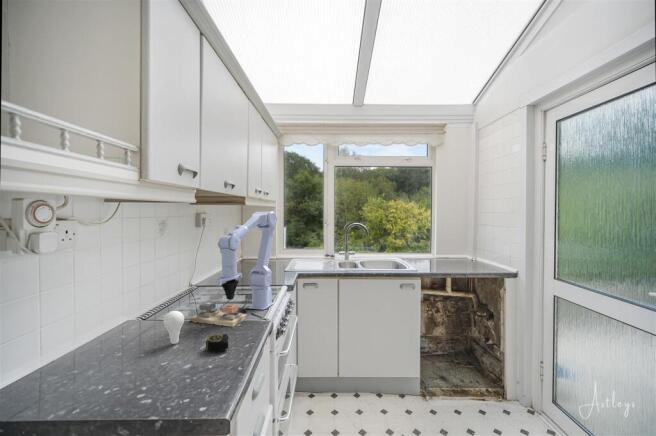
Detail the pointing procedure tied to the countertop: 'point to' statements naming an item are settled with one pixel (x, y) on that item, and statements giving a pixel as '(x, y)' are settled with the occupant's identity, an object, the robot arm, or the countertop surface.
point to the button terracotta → (230, 308)
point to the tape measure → (217, 343)
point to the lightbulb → (174, 325)
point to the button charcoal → (207, 306)
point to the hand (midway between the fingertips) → (230, 299)
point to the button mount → (219, 318)
